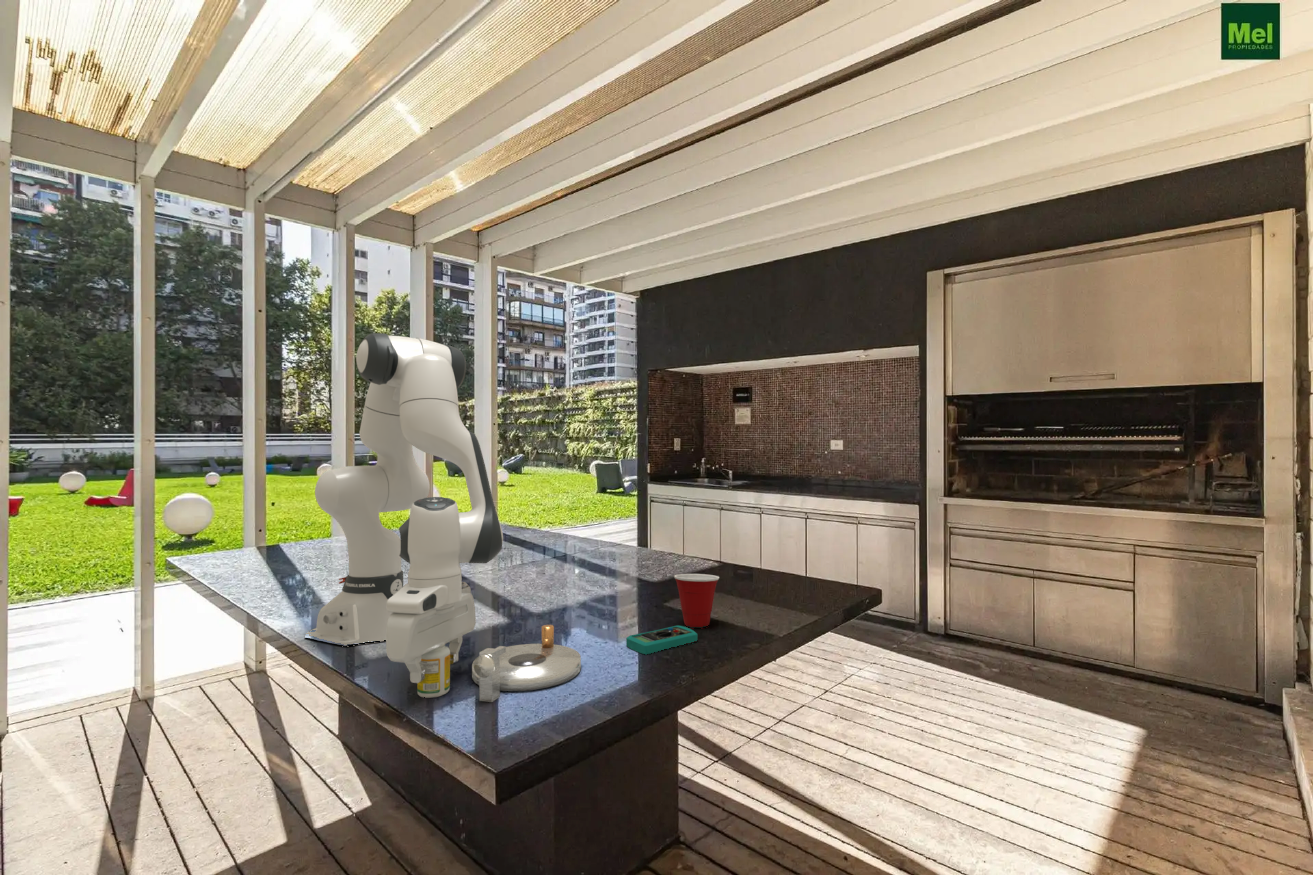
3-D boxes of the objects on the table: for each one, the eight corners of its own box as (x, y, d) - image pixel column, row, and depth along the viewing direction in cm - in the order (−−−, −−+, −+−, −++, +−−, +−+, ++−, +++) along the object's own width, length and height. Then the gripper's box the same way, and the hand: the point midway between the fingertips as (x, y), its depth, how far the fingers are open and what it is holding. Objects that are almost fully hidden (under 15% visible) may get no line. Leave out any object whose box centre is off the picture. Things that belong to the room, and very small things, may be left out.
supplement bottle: (427, 701, 102) (427, 643, 103) (411, 693, 106) (411, 637, 106) (456, 691, 106) (456, 635, 107) (439, 684, 110) (439, 630, 110)
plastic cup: (726, 622, 149) (725, 572, 149) (711, 634, 139) (710, 580, 139) (684, 617, 153) (684, 569, 154) (667, 628, 143) (666, 577, 144)
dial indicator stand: (473, 702, 102) (473, 653, 102) (493, 688, 108) (493, 642, 108) (492, 704, 101) (492, 655, 101) (512, 690, 106) (511, 644, 107)
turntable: (449, 684, 109) (449, 650, 109) (507, 650, 128) (507, 621, 128) (551, 696, 103) (551, 660, 103) (596, 658, 122) (596, 627, 122)
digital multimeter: (700, 644, 133) (700, 630, 133) (644, 657, 124) (644, 642, 124) (679, 636, 139) (679, 623, 139) (624, 648, 130) (624, 634, 130)
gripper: (454, 579, 117) (455, 651, 117) (378, 604, 98) (378, 691, 97) (483, 580, 116) (484, 654, 115) (412, 606, 96) (412, 695, 96)
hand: (435, 671), depth 106 cm, fingers open, 8 cm apart
